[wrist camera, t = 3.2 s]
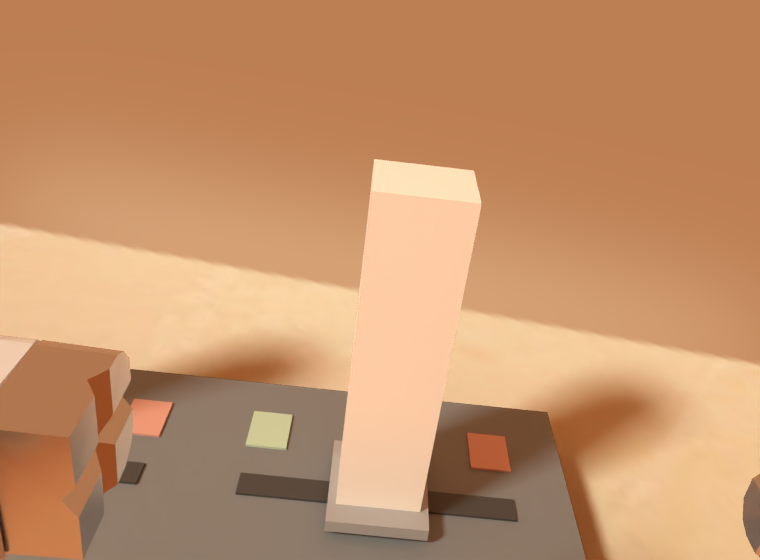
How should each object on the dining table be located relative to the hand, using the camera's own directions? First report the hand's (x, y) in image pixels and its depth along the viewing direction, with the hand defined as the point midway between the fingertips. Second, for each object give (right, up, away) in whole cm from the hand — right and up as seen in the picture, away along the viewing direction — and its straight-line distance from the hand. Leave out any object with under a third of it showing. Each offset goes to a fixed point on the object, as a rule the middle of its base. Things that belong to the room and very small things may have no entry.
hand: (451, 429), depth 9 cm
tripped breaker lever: (-1, -6, +18) cm, 19 cm away
